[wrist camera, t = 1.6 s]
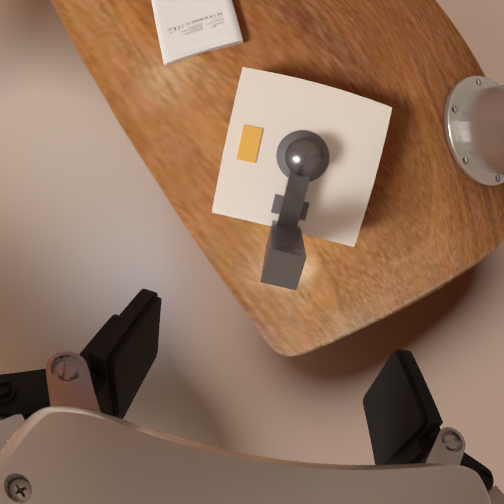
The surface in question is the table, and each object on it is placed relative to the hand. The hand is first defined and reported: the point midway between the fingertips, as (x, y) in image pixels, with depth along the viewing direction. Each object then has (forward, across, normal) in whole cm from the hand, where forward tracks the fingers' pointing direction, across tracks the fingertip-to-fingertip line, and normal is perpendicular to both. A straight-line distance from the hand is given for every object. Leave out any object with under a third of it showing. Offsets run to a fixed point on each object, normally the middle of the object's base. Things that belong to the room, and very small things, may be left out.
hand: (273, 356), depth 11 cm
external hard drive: (+21, +14, -20) cm, 33 cm away
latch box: (+20, 0, -7) cm, 21 cm away
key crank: (+16, 0, -3) cm, 16 cm away
